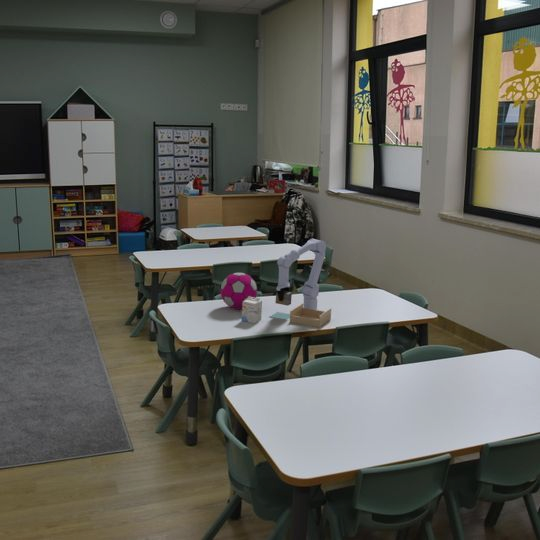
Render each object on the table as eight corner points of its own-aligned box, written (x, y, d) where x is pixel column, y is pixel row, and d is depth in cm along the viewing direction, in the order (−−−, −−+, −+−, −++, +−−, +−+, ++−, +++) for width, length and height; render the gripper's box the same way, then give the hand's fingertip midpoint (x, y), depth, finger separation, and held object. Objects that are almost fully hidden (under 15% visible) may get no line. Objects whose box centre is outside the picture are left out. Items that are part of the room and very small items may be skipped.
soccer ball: (249, 315, 397) (250, 278, 392) (214, 310, 404) (215, 274, 399) (261, 305, 418) (262, 271, 413) (228, 301, 424) (228, 267, 419)
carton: (301, 314, 402) (302, 303, 400) (330, 319, 394) (331, 308, 393) (289, 322, 386) (290, 311, 384) (319, 327, 378) (320, 315, 377)
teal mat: (277, 312, 404) (277, 312, 404) (294, 315, 400) (294, 314, 400) (269, 317, 395) (269, 316, 395) (286, 320, 390) (286, 319, 390)
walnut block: (278, 301, 399) (279, 290, 397) (291, 303, 396) (291, 292, 394) (275, 303, 395) (276, 291, 393) (287, 305, 392) (288, 294, 390)
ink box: (241, 320, 386) (242, 298, 383) (248, 317, 394) (249, 295, 390) (254, 323, 382) (255, 300, 379) (261, 319, 390) (262, 297, 387)
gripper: (284, 280, 384) (283, 303, 387) (294, 275, 397) (293, 298, 400) (273, 279, 387) (272, 302, 390) (283, 274, 400) (282, 296, 403)
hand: (282, 299), depth 395 cm, fingers closed on walnut block, 4 cm apart
